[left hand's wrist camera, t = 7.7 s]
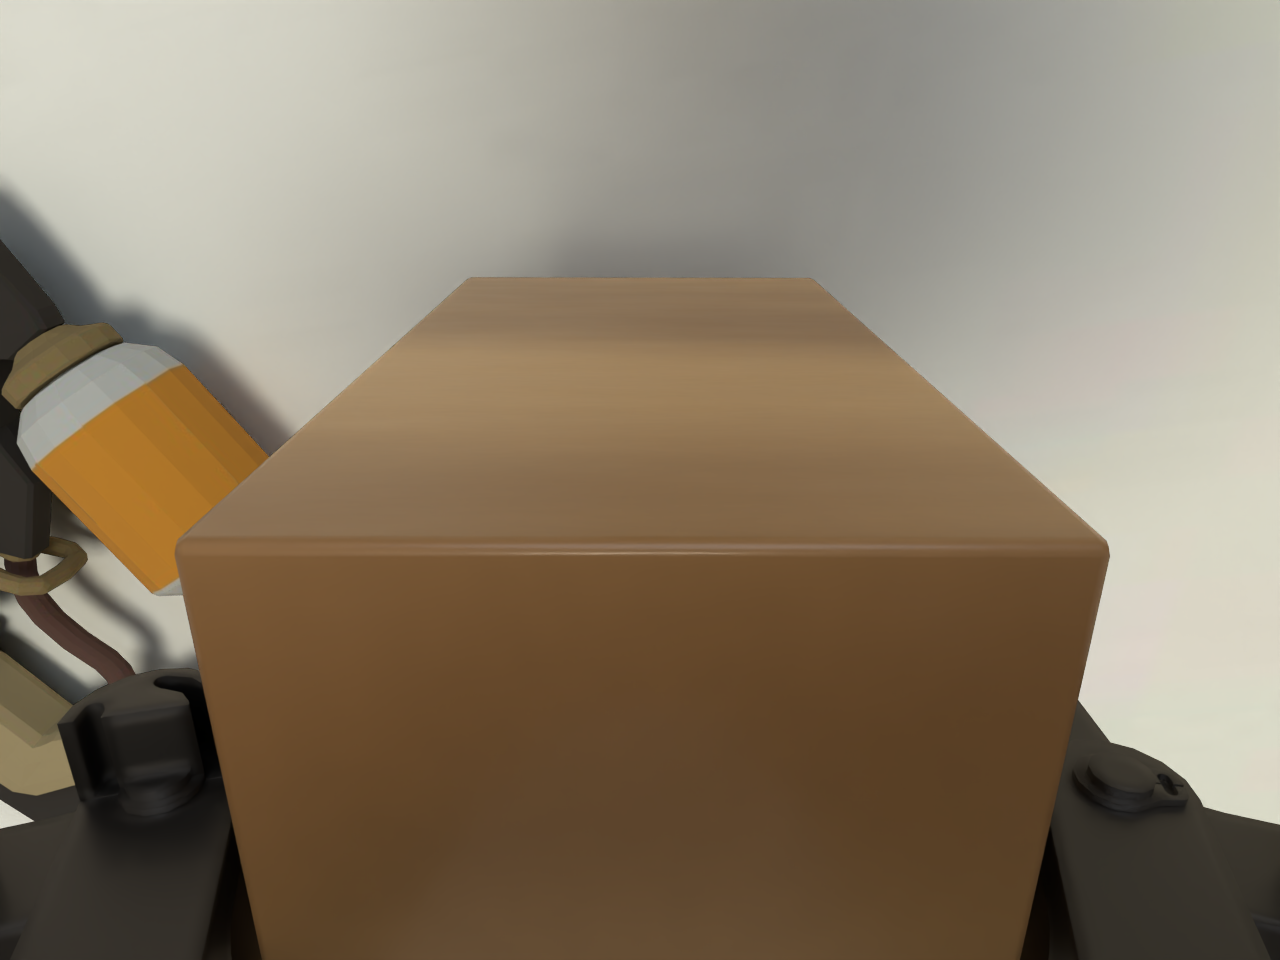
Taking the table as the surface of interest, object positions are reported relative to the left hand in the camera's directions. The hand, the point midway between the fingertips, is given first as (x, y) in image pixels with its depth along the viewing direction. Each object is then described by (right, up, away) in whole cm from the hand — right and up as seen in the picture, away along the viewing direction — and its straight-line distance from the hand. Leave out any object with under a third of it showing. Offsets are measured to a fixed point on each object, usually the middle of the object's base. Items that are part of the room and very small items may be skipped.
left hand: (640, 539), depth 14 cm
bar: (0, -7, +4) cm, 8 cm away
